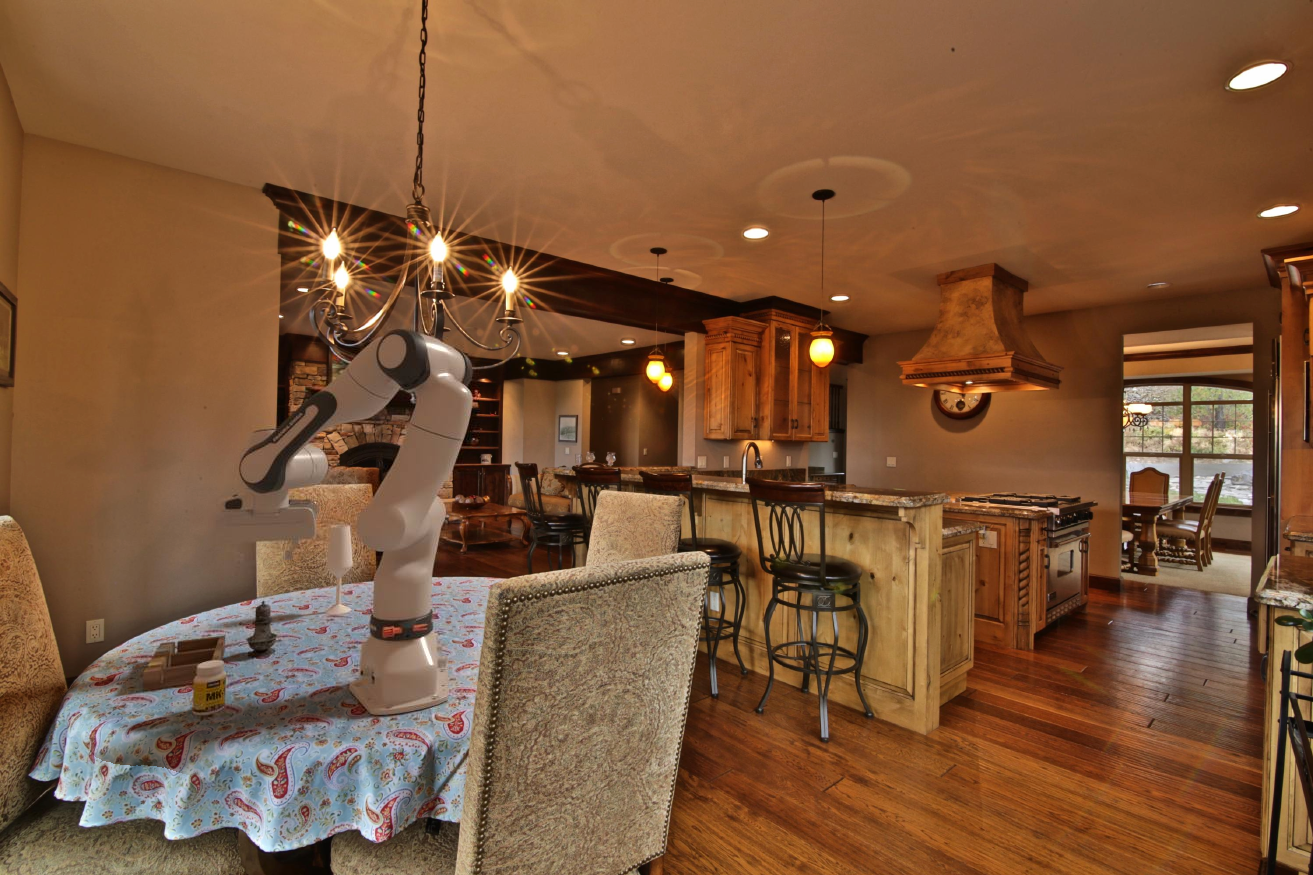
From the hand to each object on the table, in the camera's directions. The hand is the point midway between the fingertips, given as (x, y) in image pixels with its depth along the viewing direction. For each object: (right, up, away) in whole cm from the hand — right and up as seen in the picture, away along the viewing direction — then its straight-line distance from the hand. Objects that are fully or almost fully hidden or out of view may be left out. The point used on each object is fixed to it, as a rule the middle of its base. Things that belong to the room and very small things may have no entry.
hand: (264, 560), depth 137 cm
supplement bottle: (+8, -22, -28) cm, 36 cm away
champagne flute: (-1, -21, +33) cm, 39 cm away
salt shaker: (-1, -21, 0) cm, 21 cm away
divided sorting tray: (-10, -21, -10) cm, 25 cm away
